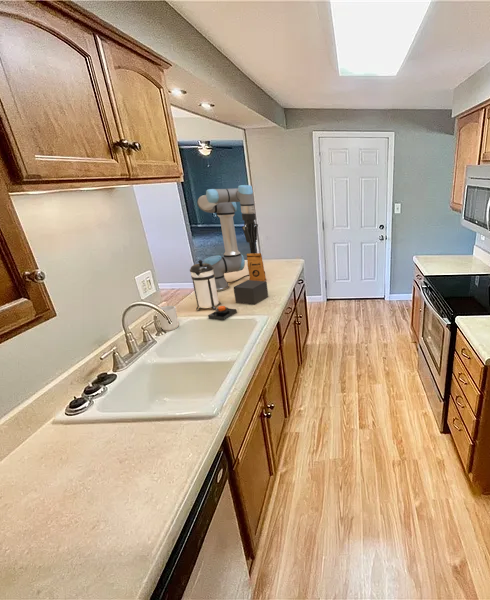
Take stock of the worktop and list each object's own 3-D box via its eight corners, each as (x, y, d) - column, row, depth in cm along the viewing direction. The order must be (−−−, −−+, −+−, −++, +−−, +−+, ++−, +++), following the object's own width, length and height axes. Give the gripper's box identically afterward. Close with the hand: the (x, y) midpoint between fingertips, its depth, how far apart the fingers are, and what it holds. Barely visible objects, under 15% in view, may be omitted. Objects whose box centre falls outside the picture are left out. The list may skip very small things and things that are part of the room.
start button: (221, 308, 192) (221, 305, 192) (227, 309, 191) (226, 306, 191) (216, 310, 188) (216, 308, 188) (222, 311, 188) (222, 308, 187)
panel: (222, 311, 198) (221, 304, 196) (236, 312, 195) (236, 306, 194) (208, 318, 187) (207, 312, 185) (223, 320, 184) (222, 314, 183)
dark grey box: (250, 294, 225) (248, 279, 221) (268, 296, 222) (266, 281, 218) (235, 302, 211) (233, 286, 207) (254, 304, 207) (252, 288, 204)
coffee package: (264, 282, 251) (261, 254, 244) (248, 283, 250) (244, 254, 243) (267, 278, 261) (264, 251, 253) (251, 279, 260) (247, 252, 252)
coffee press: (227, 306, 204) (220, 259, 194) (201, 314, 193) (191, 264, 183) (215, 300, 216) (207, 255, 205) (190, 306, 205) (180, 259, 194)
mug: (173, 331, 171) (169, 311, 168) (156, 331, 172) (151, 311, 168) (185, 322, 183) (181, 303, 179) (169, 322, 183) (165, 303, 179)
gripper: (247, 214, 184) (252, 255, 193) (260, 212, 196) (264, 251, 204) (235, 214, 186) (241, 255, 194) (249, 212, 198) (254, 250, 206)
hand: (253, 253), depth 199 cm, fingers closed
